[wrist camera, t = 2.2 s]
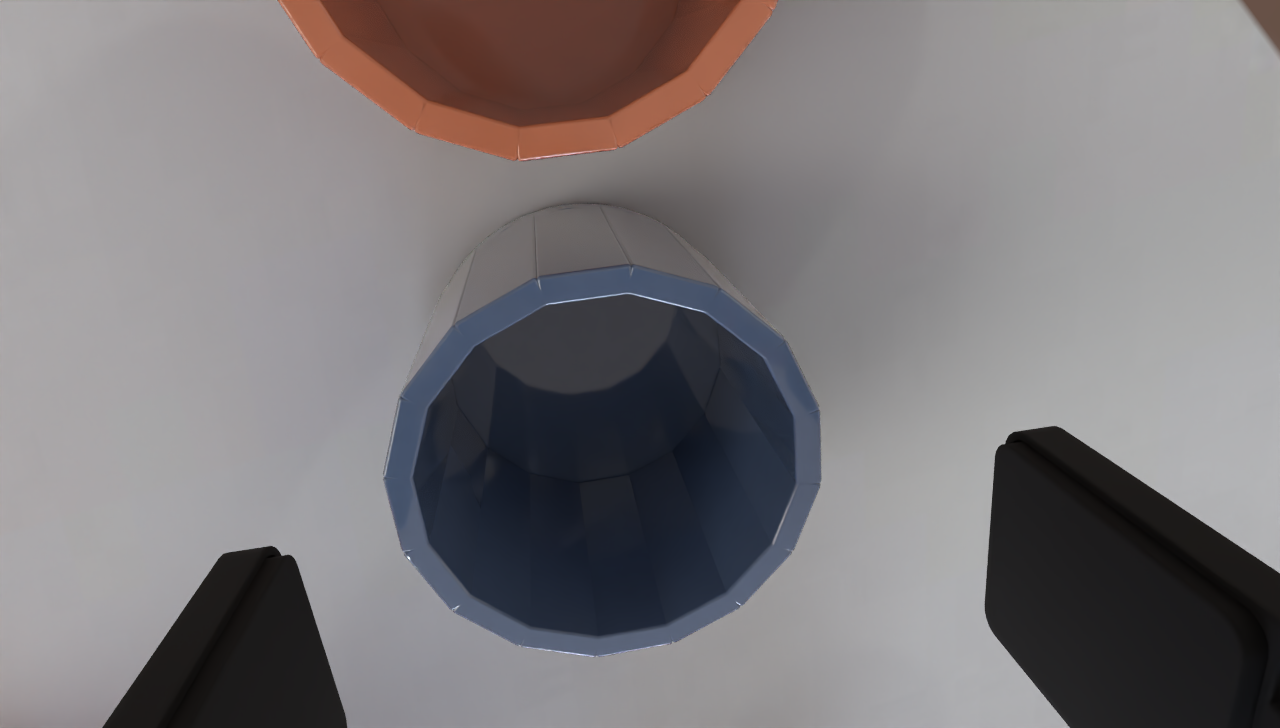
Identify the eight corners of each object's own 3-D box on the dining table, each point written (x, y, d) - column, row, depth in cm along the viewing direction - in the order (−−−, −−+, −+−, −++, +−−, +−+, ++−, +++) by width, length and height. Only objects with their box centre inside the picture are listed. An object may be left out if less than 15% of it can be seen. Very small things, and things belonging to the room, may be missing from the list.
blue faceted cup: (372, 383, 17) (297, 532, 12) (555, 135, 16) (570, 167, 10) (610, 530, 19) (643, 713, 14) (789, 323, 18) (905, 433, 12)
